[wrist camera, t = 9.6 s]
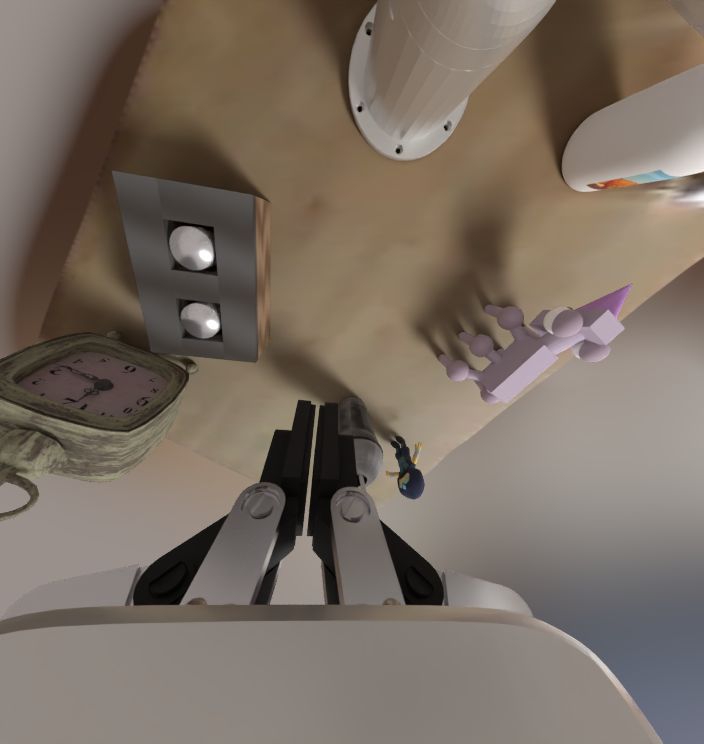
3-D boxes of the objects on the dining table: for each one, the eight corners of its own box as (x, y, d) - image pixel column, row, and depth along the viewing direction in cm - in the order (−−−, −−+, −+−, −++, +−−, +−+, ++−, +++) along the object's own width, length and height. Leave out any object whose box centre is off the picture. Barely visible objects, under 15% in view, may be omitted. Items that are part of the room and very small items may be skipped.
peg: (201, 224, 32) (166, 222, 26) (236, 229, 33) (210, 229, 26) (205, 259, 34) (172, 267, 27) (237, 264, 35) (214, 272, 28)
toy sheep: (532, 243, 36) (635, 254, 24) (572, 290, 40) (677, 320, 28) (428, 355, 43) (469, 406, 31) (471, 386, 47) (521, 442, 35)
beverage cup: (324, 416, 47) (318, 527, 30) (341, 383, 44) (345, 485, 27) (361, 429, 49) (376, 541, 31) (380, 398, 46) (407, 502, 28)
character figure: (406, 421, 49) (426, 474, 38) (422, 431, 50) (446, 485, 39) (375, 452, 52) (385, 510, 41) (391, 461, 53) (405, 518, 43)
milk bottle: (545, 182, 33) (794, 124, 15) (585, 98, 29) (968, -103, 12) (597, 200, 34) (884, 168, 16) (642, 123, 30) (1064, -26, 13)
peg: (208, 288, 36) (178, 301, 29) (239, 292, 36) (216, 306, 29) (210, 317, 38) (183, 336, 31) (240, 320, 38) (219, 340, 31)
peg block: (163, 184, 31) (111, 170, 24) (270, 202, 32) (252, 194, 25) (184, 329, 39) (150, 351, 32) (269, 339, 40) (255, 362, 33)
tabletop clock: (210, 362, 41) (67, 514, 19) (194, 405, 45) (56, 576, 23) (105, 317, 37) (-230, 444, 15) (96, 368, 41) (-188, 532, 19)
